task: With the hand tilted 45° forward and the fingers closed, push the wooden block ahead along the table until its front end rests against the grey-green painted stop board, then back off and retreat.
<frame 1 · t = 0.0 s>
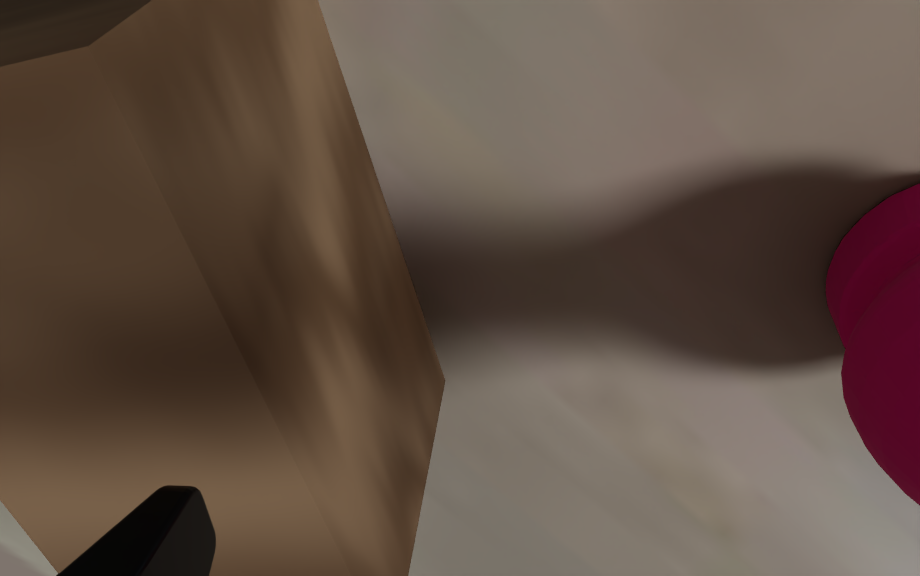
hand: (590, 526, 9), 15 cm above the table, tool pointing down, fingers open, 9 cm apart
wooden block: (267, 200, 25), on the table
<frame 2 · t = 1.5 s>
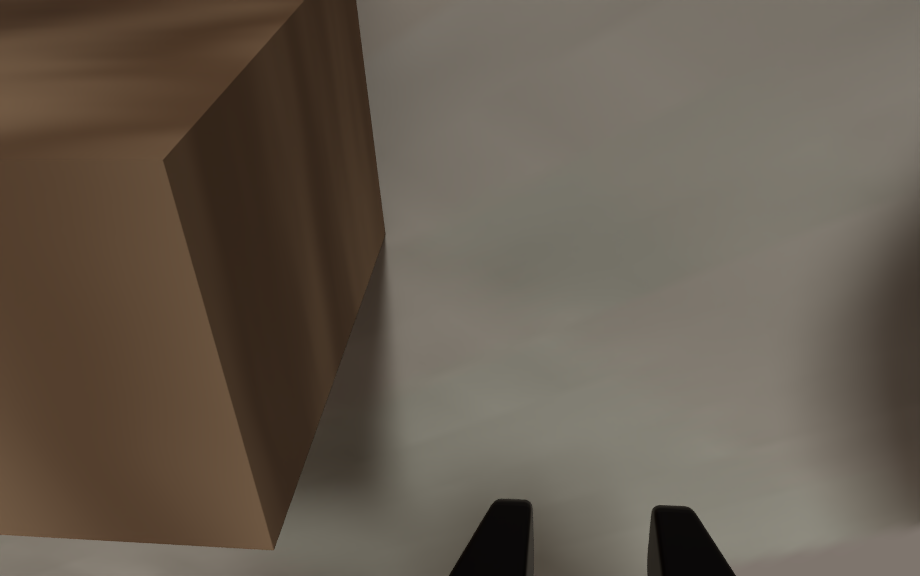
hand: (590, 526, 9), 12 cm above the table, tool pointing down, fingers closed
wooden block: (72, 107, 21), on the table
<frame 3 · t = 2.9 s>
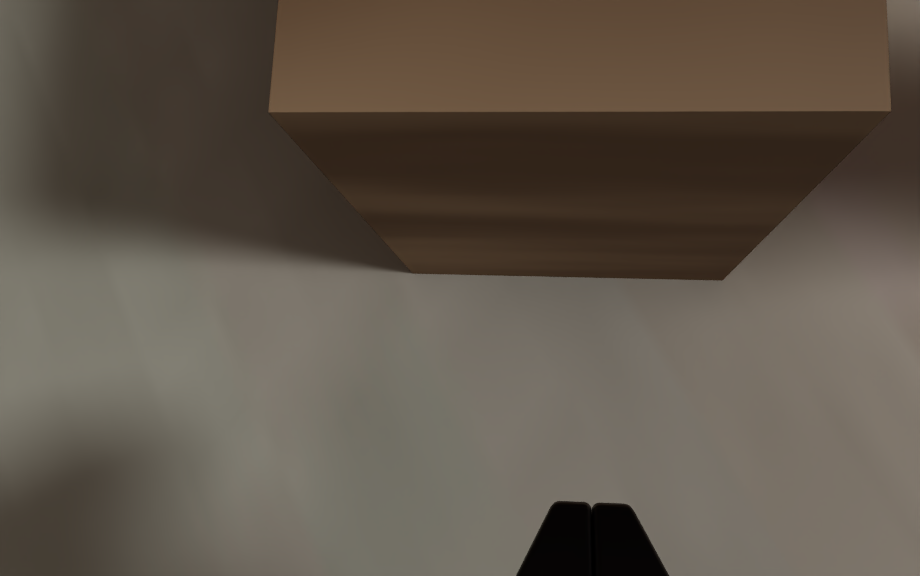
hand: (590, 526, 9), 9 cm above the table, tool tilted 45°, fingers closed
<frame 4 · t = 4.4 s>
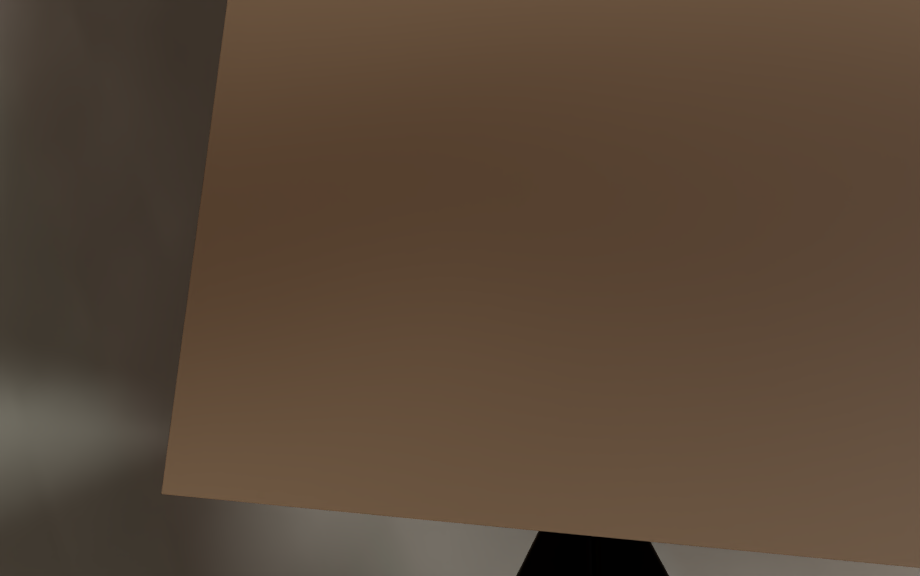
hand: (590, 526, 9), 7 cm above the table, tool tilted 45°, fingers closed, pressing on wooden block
wooden block: (611, 94, 17), on the table, touching gripper
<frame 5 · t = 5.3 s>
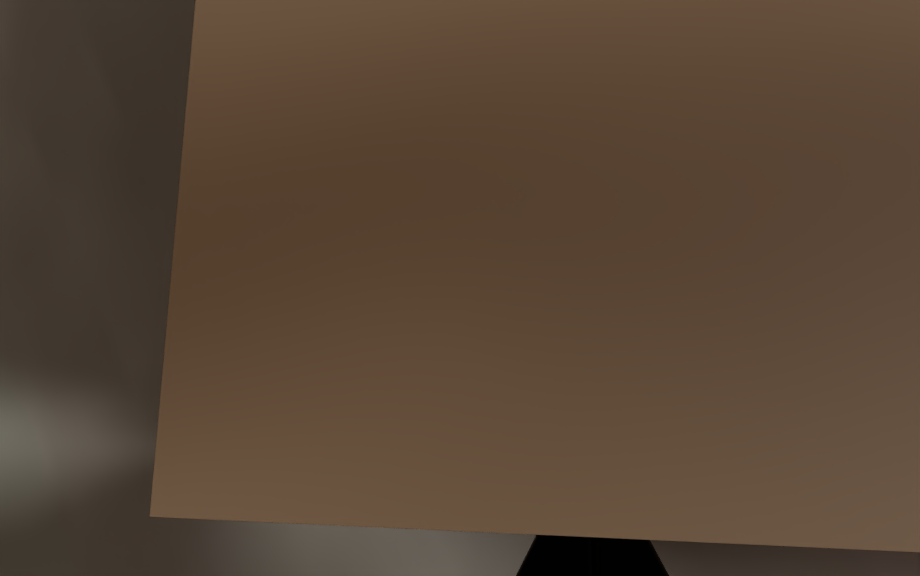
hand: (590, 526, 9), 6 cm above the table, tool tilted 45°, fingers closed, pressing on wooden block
wooden block: (589, 92, 17), on the table, touching gripper
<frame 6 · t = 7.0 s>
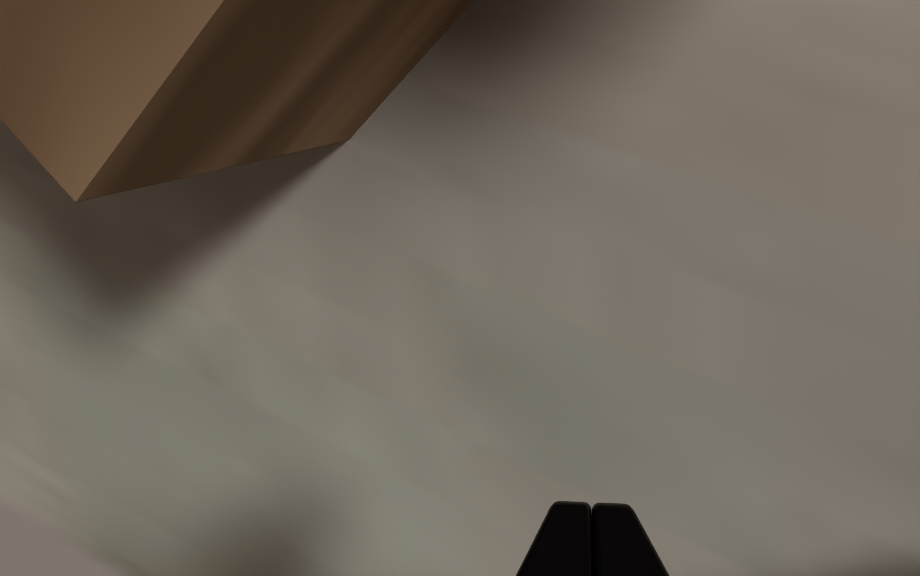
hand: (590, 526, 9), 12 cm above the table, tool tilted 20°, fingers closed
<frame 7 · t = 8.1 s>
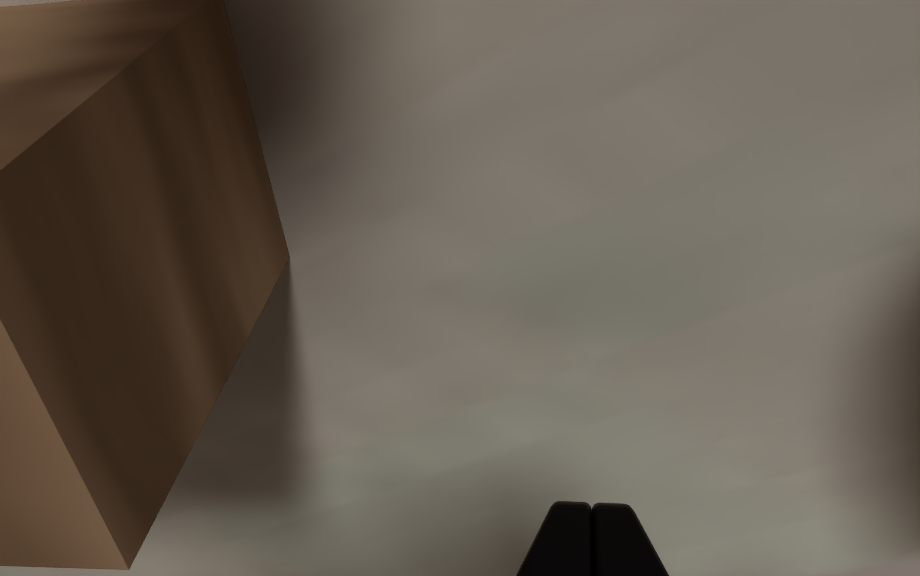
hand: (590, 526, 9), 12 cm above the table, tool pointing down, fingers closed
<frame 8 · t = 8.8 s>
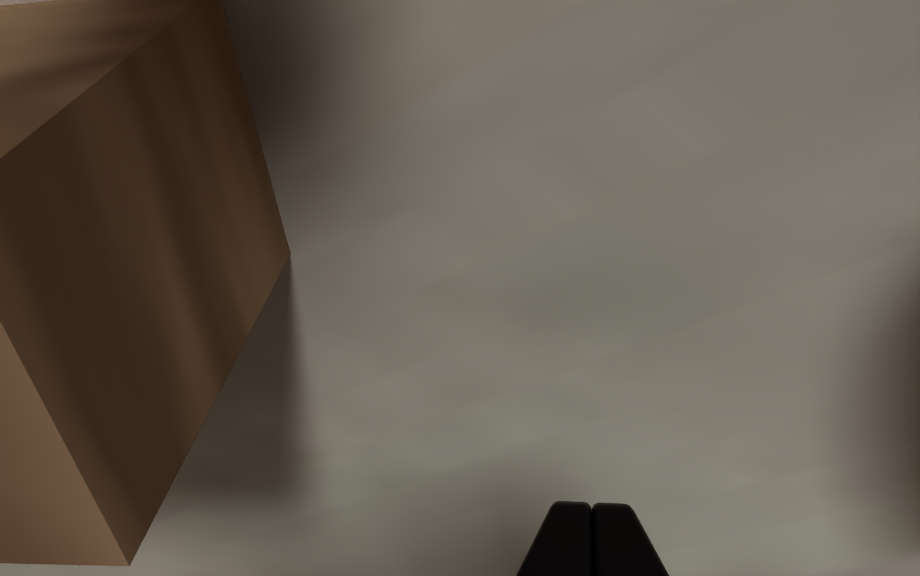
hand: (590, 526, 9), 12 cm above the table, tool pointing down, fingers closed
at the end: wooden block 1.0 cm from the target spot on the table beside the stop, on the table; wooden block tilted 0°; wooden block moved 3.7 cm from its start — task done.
